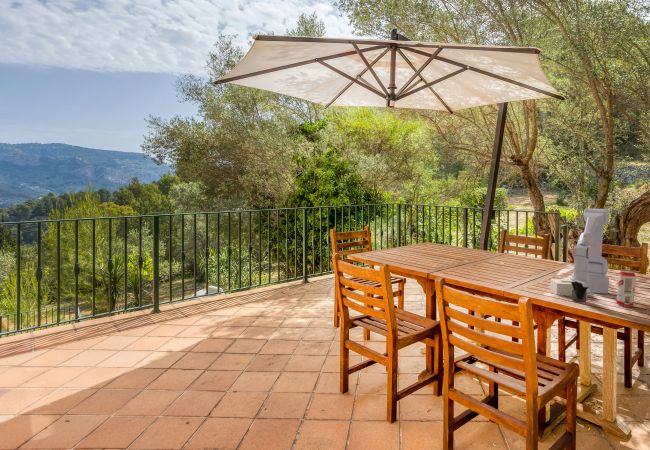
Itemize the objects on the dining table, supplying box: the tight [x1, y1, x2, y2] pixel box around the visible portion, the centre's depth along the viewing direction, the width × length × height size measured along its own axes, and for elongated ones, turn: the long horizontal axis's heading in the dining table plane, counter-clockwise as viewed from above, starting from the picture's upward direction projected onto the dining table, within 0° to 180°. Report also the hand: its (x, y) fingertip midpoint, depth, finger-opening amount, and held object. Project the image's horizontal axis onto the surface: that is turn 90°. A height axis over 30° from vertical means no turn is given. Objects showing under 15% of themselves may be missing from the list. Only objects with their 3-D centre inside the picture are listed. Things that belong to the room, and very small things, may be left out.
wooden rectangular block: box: [571, 290, 588, 303], centre depth 185 cm, size 6×2×5 cm, turn 76°
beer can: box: [615, 269, 637, 308], centre depth 178 cm, size 6×6×16 cm
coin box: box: [549, 278, 589, 298], centre depth 198 cm, size 14×10×6 cm
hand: (578, 298), depth 185 cm, fingers closed on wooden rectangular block, 2 cm apart
